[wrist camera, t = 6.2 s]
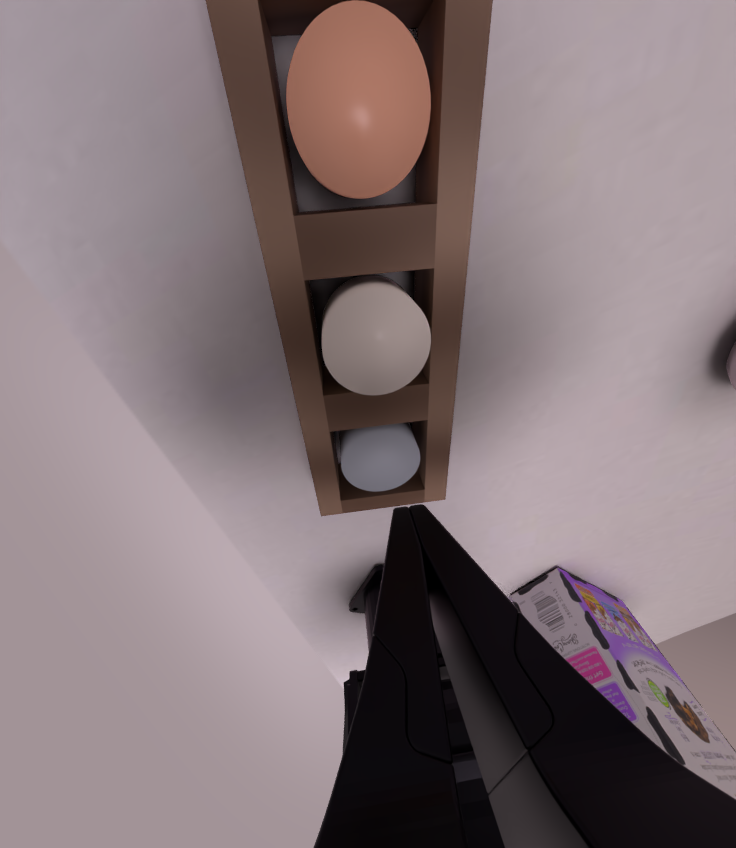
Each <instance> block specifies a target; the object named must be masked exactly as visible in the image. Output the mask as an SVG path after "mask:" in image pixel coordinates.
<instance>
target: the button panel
mask: <svg viewBox="0 0 736 848" xmlns="http://www.w3.org/2000/svg"><path fill="white" fill-rule="evenodd" d="M346 1H352V0H206V4H207V9H208V13H209V18H210V22H211V27H212V31H213V35H214V40H215V44H216V49H217V53H218V58H219V62H220V67H221V71H222V76H223V80H224V85H225V89H226V94H227V98H228V102H229V107H230V111H231V116H232V120H233V125H234V129H235V134H236V138H237V143H238V147H239V152H240V156H241V161H242V165H243V169H244V174H245V178H246V183H247V187H248V192H249V196H250V201H251V205H252V210H253V214H254V219H255V223H256V228H257V232H258V237H259V241H260V245H261V250H262V254H263V259H264V263H265V268H266V272H267V277H268V281H269V286H270V290H271V295H272V299H273V304H274V308H275V312H276V317H277V321H278V326H279V330H280V335H281V339H282V344H283V348H284V353H285V357H286V362H287V366H288V371H289V375H290V379H291V384H292V388H293V393H294V397H295V402H296V406H297V411H298V415H299V420H300V424H301V429H302V433H303V438H304V442H305V446H306V451H307V455H308V460H309V464H310V469H311V473H312V478H313V482H314V487H315V491H316V496H317V500H318V505H319V509H320V514H321V516H326V515H334V514H341V513H348V512H356V511H363V510H371V509H378V508H386V507H393V506H400V505H408V504H415V503H423V502H430V501H437V500H445V497H446V486H447V475H448V465H449V454H450V444H451V433H452V423H453V412H454V402H455V391H456V381H457V370H458V360H459V349H460V339H461V328H462V318H463V307H464V296H465V286H466V275H467V265H468V254H469V244H470V233H471V223H472V212H473V202H474V191H475V181H476V170H477V160H478V149H479V139H480V128H481V117H482V107H483V96H484V86H485V75H486V65H487V54H488V44H489V33H490V23H491V12H492V2H493V0H358V1H367V2H371V3H375V4H377V5H379V6H381V7H383V8H385V9H387V10H388V11H389V12H391V13H392V14H394V15H395V16H396V17H397V18H398V19H399V20H400V21H401V22H402V23H403V24H404V25H405V27H406V28H418V47H419V49H420V52H421V54H422V56H423V59H424V62H425V66H426V69H427V74H428V78H429V85H430V94H431V110H430V121H429V127H428V132H427V136H426V139H425V143H424V146H423V148H422V151H421V153H420V155H419V157H418V159H417V161H416V202H415V203H403V204H391V205H379V206H367V207H355V208H344V209H332V210H320V211H308V212H299V210H298V204H297V197H296V191H295V185H294V178H293V172H292V166H291V159H290V153H289V147H288V140H287V134H286V127H285V121H284V115H283V108H282V102H281V96H280V89H279V83H278V77H277V70H276V64H275V58H274V51H273V45H272V38H271V36H278V35H297V34H303V33H304V31H305V30H306V28H307V27H308V26H309V25H310V23H311V22H312V21H313V20H314V19H315V18H316V17H317V16H318V15H319V14H321V13H322V12H323V11H325V10H326V9H328V8H330V7H331V6H333V5H336V4H339V3H341V2H346ZM409 270H415V295H414V302H415V303H416V304H417V305H418V307H419V308H420V309H421V310H422V312H423V313H424V315H425V317H426V319H427V321H428V324H429V327H430V333H431V346H430V352H429V355H428V358H427V361H426V363H425V365H424V367H423V368H422V370H421V371H420V373H419V374H418V375H417V376H416V377H415V378H414V379H413V380H412V381H411V382H410V383H408V384H407V385H406V386H404V387H402V388H400V389H399V390H396V391H394V392H391V393H388V394H383V395H364V394H359V393H356V392H353V391H351V390H349V389H347V388H345V387H344V386H342V385H341V384H340V383H338V382H337V381H336V380H335V379H334V378H333V376H332V375H331V374H330V372H329V370H328V369H327V367H326V366H323V363H322V356H321V350H320V344H319V337H318V331H317V324H316V318H315V312H314V305H313V299H312V293H311V286H310V280H315V279H326V278H336V277H347V276H357V275H368V274H378V273H389V272H399V271H409ZM406 422H413V435H414V438H415V440H416V443H417V446H418V448H419V451H420V464H419V467H418V469H417V471H416V472H415V474H414V475H413V476H412V477H411V478H410V479H409V480H408V481H407V482H405V483H404V484H402V485H400V486H398V487H396V488H394V489H390V490H386V491H378V492H374V491H366V490H362V489H359V488H357V487H355V486H354V485H352V484H351V483H350V482H348V480H347V479H346V478H345V476H344V474H343V472H342V468H341V464H338V458H337V452H336V445H335V439H334V433H333V431H340V430H349V429H357V428H365V427H373V426H382V425H390V424H398V423H406Z"/></svg>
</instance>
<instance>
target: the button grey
mask: <svg viewBox="0 0 736 848" xmlns="http://www.w3.org/2000/svg"><path fill="white" fill-rule="evenodd" d="M339 440H340V454H341V468H342V472H343V474H344V476H345V478H346V479H347V480H348V482H350V483H351V484H352V485H354V486H355V487H357V488H359V489H362V490H366V491H374V492H378V491H386V490H390V489H394V488H396V487H398V486H400V485H402V484H404V483H405V482H407V481H408V480H409V479H410V478H411V477H412V476H413V475H414V474H415V472H416V471H417V469H418V467H419V464H420V451H419V448H418V446H417V443H416V440H415V438H414V435H413V433H412V430H411V427H410V425H409V422H406V423H398V424H390V425H382V426H373V427H365V428H357V429H349V430H340V431H339Z"/></svg>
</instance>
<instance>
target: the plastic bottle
mask: <svg viewBox="0 0 736 848" xmlns="http://www.w3.org/2000/svg"><path fill="white" fill-rule="evenodd" d="M726 369H727V373H728V376H729V379H730V381H731V384H732V386H733V387H734V389H735V390H736V342H735V343H734V345H733V347H732V349H731V351H730V353H729V356H728V359H727V366H726Z"/></svg>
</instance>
